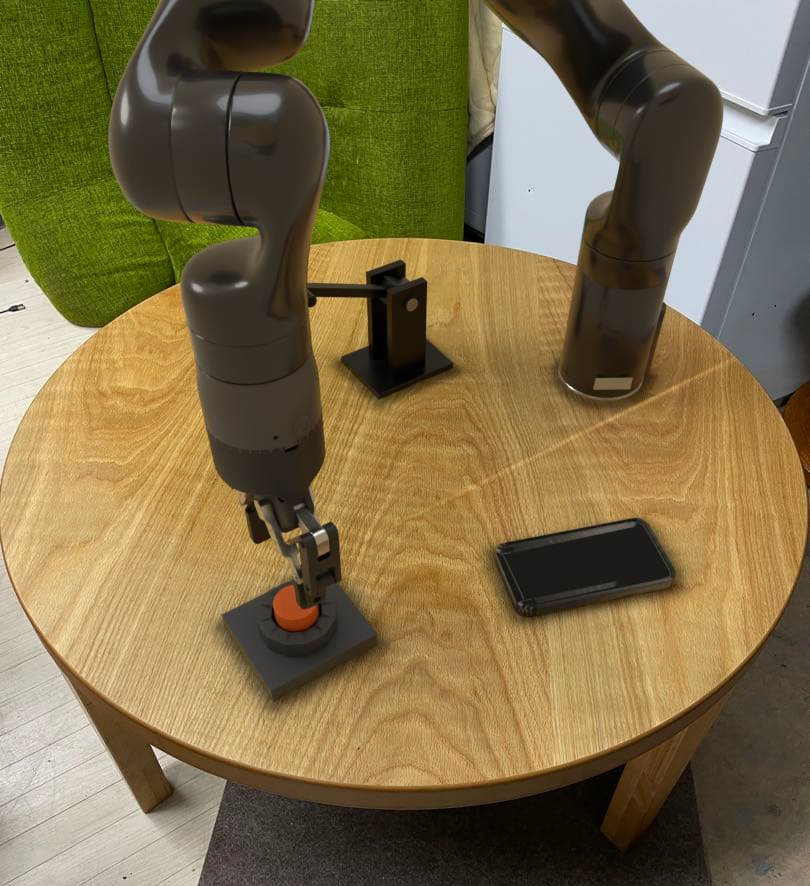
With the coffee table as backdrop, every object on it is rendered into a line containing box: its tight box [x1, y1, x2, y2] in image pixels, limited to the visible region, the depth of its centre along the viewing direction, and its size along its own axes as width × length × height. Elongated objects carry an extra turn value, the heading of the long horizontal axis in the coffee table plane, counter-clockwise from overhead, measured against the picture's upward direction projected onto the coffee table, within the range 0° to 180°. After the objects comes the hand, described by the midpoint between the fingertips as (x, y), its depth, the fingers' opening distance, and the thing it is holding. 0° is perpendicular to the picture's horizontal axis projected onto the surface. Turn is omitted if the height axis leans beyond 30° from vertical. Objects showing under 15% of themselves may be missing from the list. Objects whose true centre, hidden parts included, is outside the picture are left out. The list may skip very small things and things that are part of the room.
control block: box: [221, 579, 378, 703], centre depth 73 cm, size 10×9×4 cm
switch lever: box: [307, 276, 411, 309], centre depth 87 cm, size 14×5×2 cm, turn 124°
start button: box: [273, 585, 319, 632], centre depth 71 cm, size 4×4×2 cm
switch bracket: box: [340, 259, 454, 400], centre depth 94 cm, size 10×8×12 cm
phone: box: [494, 517, 677, 618], centre depth 79 cm, size 8×1×15 cm
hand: (287, 568), depth 68 cm, fingers open, 7 cm apart
